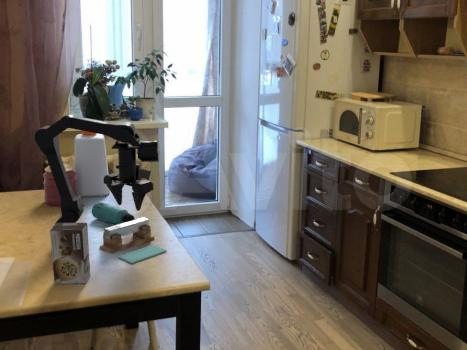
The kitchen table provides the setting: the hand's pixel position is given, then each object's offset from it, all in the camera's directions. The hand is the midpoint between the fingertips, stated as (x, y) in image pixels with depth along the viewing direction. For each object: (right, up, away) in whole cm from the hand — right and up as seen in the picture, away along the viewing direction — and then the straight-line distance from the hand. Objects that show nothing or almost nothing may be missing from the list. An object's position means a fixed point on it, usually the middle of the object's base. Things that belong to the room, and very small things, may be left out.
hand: (129, 207), depth 186 cm
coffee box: (-11, -19, -26) cm, 34 cm away
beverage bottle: (-18, -2, +26) cm, 32 cm away
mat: (+6, -14, -7) cm, 17 cm away
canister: (-36, 0, +46) cm, 58 cm away
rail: (-1, -8, +1) cm, 8 cm away
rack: (-1, -12, +2) cm, 12 cm away
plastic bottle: (-27, +3, +60) cm, 66 cm away
